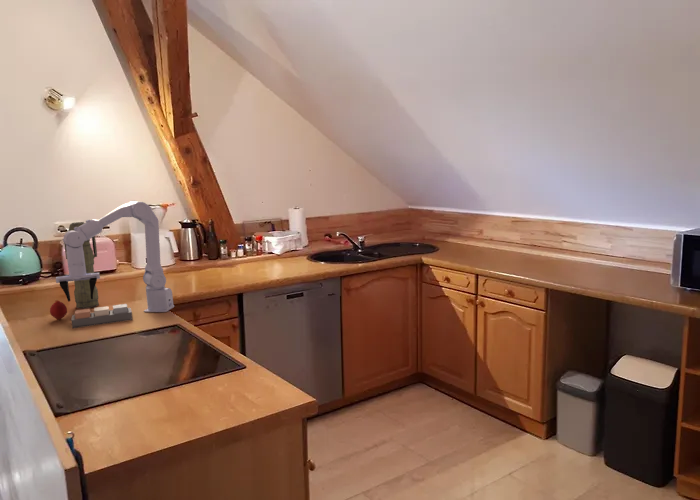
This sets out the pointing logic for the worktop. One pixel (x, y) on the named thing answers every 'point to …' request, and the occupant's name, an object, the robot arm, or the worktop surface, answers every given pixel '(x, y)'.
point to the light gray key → (120, 308)
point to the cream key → (101, 311)
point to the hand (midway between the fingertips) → (80, 299)
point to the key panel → (101, 319)
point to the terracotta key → (82, 313)
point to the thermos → (83, 286)
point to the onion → (58, 310)
